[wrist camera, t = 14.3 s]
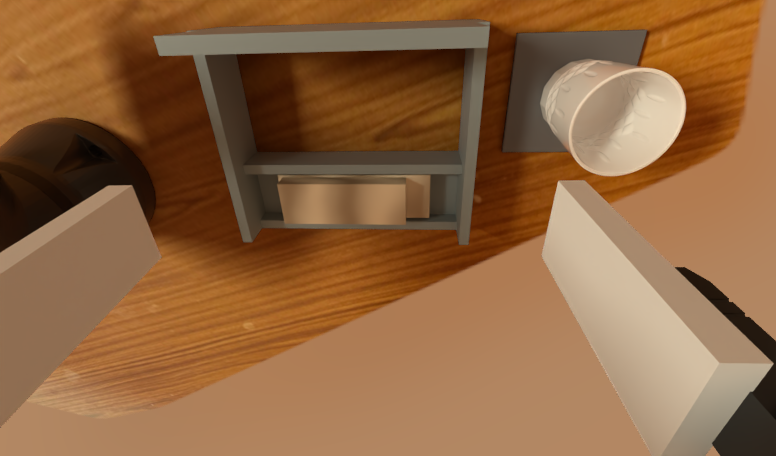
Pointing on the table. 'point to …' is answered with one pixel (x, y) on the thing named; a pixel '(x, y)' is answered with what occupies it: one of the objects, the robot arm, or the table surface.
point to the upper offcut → (343, 200)
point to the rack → (260, 169)
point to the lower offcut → (414, 190)
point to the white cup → (613, 114)
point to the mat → (536, 67)
